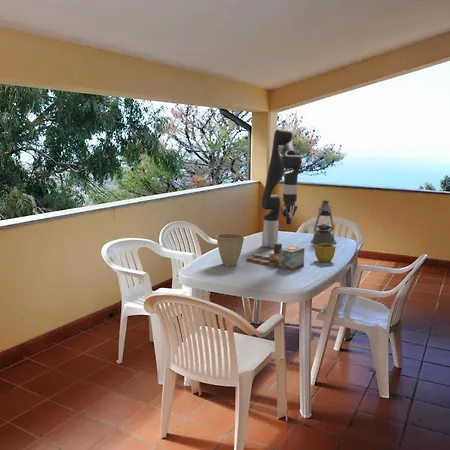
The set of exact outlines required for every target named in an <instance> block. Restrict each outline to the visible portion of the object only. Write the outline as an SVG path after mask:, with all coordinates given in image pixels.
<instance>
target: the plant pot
mask: <svg viewBox="0 0 450 450" xmlns="http://www.w3.org/2000/svg"><path fill="white" fill-rule="evenodd" d="M244 241H245V236H244V235H242V234H240V233H220V234H217V235H216V242H217V248H218V253H219V256H220V259H221V262H222V264H224V265H223V266H225V265H228V266H227V267H234V266H233V265H235V266H237V264H238V262H239V259H240V256H241V253H242V249H243V245H244Z"/></svg>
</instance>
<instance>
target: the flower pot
mask: <svg viewBox="0 0 450 450" xmlns="http://www.w3.org/2000/svg"><path fill="white" fill-rule="evenodd" d="M313 246H314V255H315V257H316V259H317V260H318V261H319V262H321V263H328V262H331V261H332V260H333V258H334V257H335V254H336V248H337V247H336V245H330V244H326V243H325V244H313Z"/></svg>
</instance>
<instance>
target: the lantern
mask: <svg viewBox="0 0 450 450" xmlns="http://www.w3.org/2000/svg"><path fill="white" fill-rule="evenodd" d="M321 202H322V204H320V206H319V207H318V208H317V210H316V212H314V213H312V214H311V215H310V216H309V218H308V219H310V218H311V217H312V215H314V214H316V213H317V217H316V220H315V224H313V225H308V224H307V222H308V220H306V222H305V225H307V226H308V227H309V228H310V227H313V231H314V234H313V238H312V239H311V240H310V243H311V244H313V245H318V244H325V243H326V244H330V245H332V244H334V245H336V244H338V242H337V241H336V240H335V234H334V233H332V232H334V231H335V224H334V219H333V216H332V210H331V209H332V205H330V204H329V203H330V202H329V200H327V198H325V199H324V200H321ZM320 217H324V218H322V219H321V218H320ZM327 218H329V219H330V221H329V222H330V223H329V224H327V223H324V221H325V222H326V219H327ZM320 220H321V221H320ZM322 222H323V223H322ZM320 224H321V225H320ZM330 225H331V226H330Z"/></svg>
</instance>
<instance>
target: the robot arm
mask: <svg viewBox="0 0 450 450" xmlns="http://www.w3.org/2000/svg"><path fill="white" fill-rule="evenodd" d="M294 136H295V135H294V132H293V131H292V130H288V129H279V128H277V129H276V130H275V131H274V135H273V139H272V140H273V141H272V149H271V157H270V160H269V166H268V171H267V177H266V181H265V186H264V190H263V193H262V196H261V208H262V209H263V210H270V211H269V212H268V213H266V214H264V215H263V230H262V233H261V246H262V247H264V248H270V249H271V248H273V249H274V244H276V243H279V218H280V211H281V213H282V215H283V217H285V219H286V220H285V224H286V225H291V224H292V218H293V216H295V213H296V211H297V209H298V205H296V202H297V198H298V175H299V172H300V169H301V166H302V162H303V159H302V157H301V156H300V155H297V153H296V150H295V140H294V139H295V137H294ZM279 146H281V147H282V149H281V154H282V157H281V154H280V151H279ZM285 169H289V170H290V169H293V170H292V171H291V172H287V173H284V171H285ZM283 177H284V178H283ZM282 178H283V188H282V202H284V203H283V207H281V198H280V196H279V195H278V194H273V191H274V189H275V188H276V187H277V185H278V184H279V183H280V182H281V180H282ZM280 207H281V208H280Z"/></svg>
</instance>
